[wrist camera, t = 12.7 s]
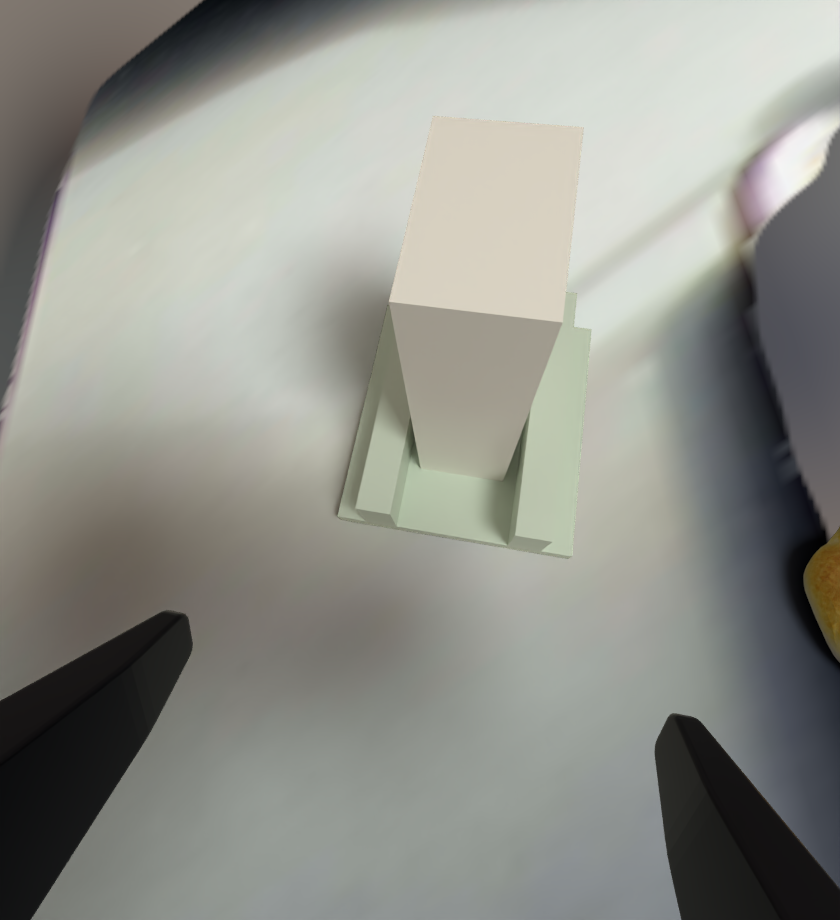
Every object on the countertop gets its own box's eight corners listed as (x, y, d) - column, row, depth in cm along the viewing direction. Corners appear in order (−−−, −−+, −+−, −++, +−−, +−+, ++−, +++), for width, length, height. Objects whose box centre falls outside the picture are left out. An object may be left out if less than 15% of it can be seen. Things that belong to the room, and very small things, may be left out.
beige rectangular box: (503, 481, 23) (562, 322, 11) (420, 468, 24) (388, 301, 11) (517, 370, 25) (583, 127, 13) (441, 360, 25) (433, 115, 13)
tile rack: (567, 558, 23) (588, 548, 19) (340, 519, 24) (323, 503, 21) (587, 337, 26) (607, 296, 23) (389, 313, 27) (380, 271, 24)
